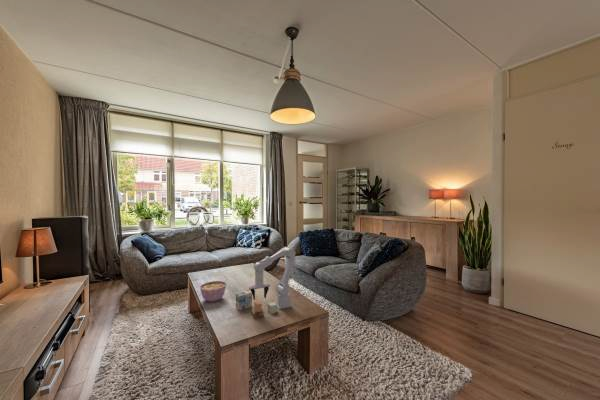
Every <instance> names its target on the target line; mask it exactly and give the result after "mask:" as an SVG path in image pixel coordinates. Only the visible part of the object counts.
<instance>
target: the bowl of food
mask: <svg viewBox="0 0 600 400" xmlns="http://www.w3.org/2000/svg"><path fill="white" fill-rule="evenodd" d="M226 286H227V283H226V282H225V281H222V280H216V281H215V280H213V281H207V282H205V283H203V284H201V285H200V286H199V289H200V293H201V297H202V298H203V300H205V301H207V302H210V303H213V302H217V301H219V300H220V299H222V298H223V297H224V295H225V292H226Z"/></svg>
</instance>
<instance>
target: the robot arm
mask: <svg viewBox="0 0 600 400" xmlns="http://www.w3.org/2000/svg"><path fill="white" fill-rule="evenodd" d="M281 257H285V259H287V262H286V265H285V269H284V271H283V274H282V277H281V280H280V281H279V282H278V284H277V285H276V288H275V290H276V292H277V303H276V304H277V310H281V309H282V310H283V309H288V308H291V307H292V305H291V302H292V301H291V299H292V298H291V293H290V284H289V283H290V282H289V281H290V279H291V275H292V273H293V272H292V271H293V268H294V266H295V262H296V251H295V249H293V248H291V247H288V246H283V247H281V249H280V250H278V251H277V252H275V253H274V254H273V255H271V256H265V258H263V259H262V260H259V261H257V262H255V263H254V264H253V270H254V282H255V285H251V286H248V290H249V291H251V292H252V300H254V301H256V290H258V289H263V297H264V299H266V298H267V294H268V292H269V289H270V287H271V285H270V283H264V271H265V269H266V268H268V267H269V266H270V265H272V264H273V262H274V261H275V260H277V259H279V258H281Z"/></svg>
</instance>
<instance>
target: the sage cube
mask: <svg viewBox="0 0 600 400" xmlns="http://www.w3.org/2000/svg"><path fill="white" fill-rule="evenodd" d="M277 304H278V303H277V302H275V301H272V302H268V303H267V312H268V313H269V314H271V315H273V314H275V313H278V307H277Z"/></svg>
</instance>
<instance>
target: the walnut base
mask: <svg viewBox="0 0 600 400" xmlns="http://www.w3.org/2000/svg"><path fill="white" fill-rule="evenodd" d="M264 313H265V312H264V310H263V309H262V312H254V308H251V316H252V318H253V319H257V318H262V317H264Z"/></svg>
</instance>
